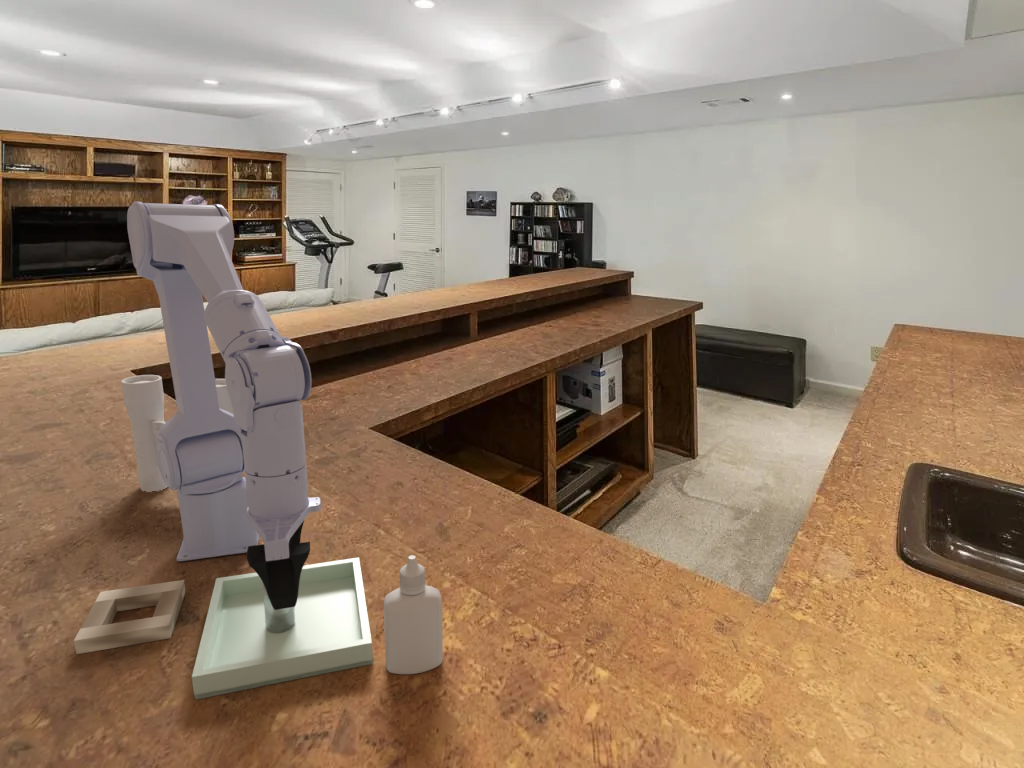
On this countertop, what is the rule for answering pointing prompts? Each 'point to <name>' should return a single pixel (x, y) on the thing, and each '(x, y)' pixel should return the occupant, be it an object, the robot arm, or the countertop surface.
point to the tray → (292, 654)
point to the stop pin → (277, 616)
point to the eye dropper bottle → (413, 623)
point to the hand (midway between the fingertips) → (286, 584)
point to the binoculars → (153, 423)
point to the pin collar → (106, 635)
